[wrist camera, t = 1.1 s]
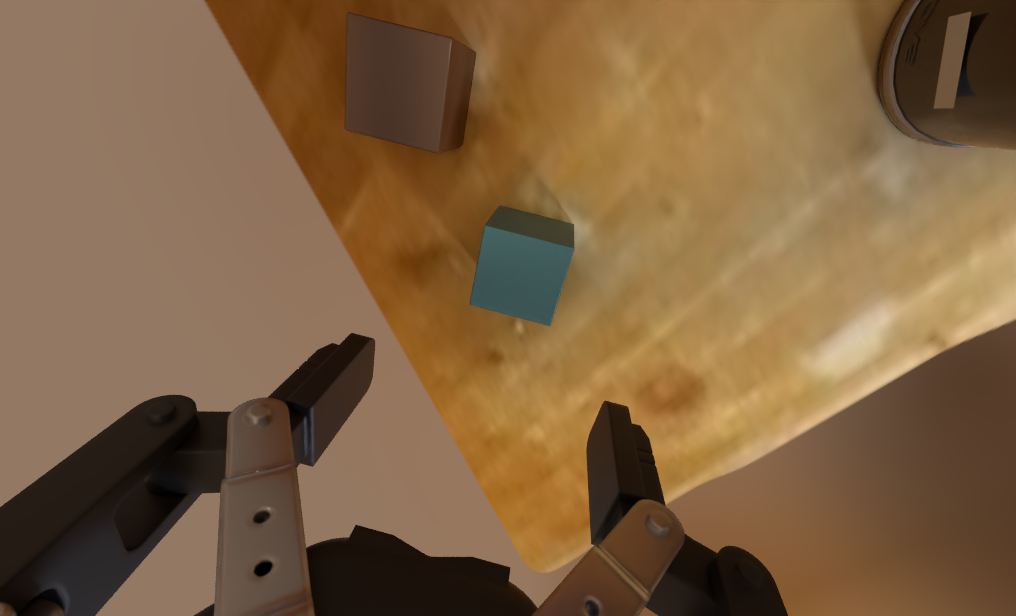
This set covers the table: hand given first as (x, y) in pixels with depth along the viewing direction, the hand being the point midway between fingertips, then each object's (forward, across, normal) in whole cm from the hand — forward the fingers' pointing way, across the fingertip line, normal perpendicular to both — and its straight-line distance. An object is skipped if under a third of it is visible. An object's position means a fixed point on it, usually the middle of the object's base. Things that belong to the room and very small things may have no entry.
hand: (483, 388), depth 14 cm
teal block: (+15, 0, 0) cm, 15 cm away
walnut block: (+15, +8, -8) cm, 19 cm away
